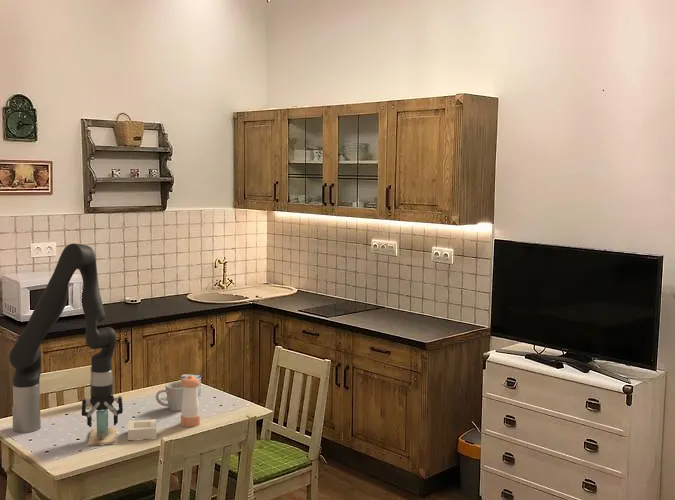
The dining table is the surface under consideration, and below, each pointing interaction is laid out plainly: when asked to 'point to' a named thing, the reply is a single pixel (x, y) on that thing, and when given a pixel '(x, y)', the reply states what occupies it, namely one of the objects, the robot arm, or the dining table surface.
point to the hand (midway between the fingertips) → (102, 425)
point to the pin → (102, 422)
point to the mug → (172, 395)
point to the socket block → (142, 429)
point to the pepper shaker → (190, 402)
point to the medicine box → (196, 377)
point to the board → (107, 438)
